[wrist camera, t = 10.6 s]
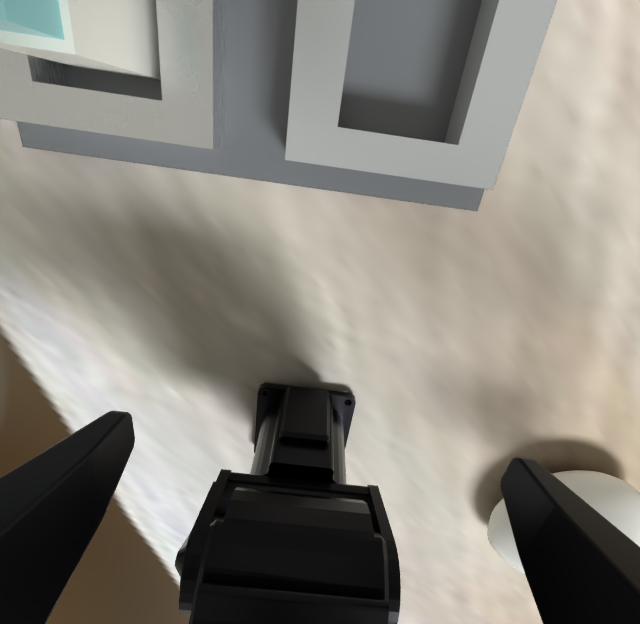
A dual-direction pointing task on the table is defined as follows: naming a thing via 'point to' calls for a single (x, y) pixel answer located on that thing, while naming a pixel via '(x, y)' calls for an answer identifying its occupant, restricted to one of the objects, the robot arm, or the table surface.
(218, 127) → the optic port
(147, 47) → the plug
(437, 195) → the station board
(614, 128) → the table surface
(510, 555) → the flower in vase
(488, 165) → the grey square socket frame
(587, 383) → the table surface
